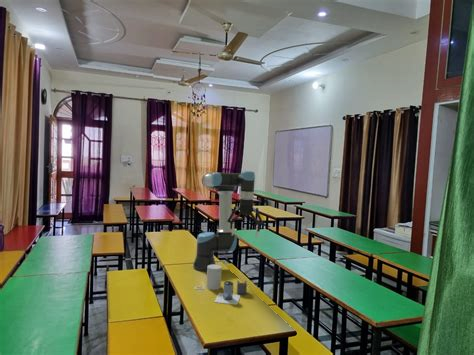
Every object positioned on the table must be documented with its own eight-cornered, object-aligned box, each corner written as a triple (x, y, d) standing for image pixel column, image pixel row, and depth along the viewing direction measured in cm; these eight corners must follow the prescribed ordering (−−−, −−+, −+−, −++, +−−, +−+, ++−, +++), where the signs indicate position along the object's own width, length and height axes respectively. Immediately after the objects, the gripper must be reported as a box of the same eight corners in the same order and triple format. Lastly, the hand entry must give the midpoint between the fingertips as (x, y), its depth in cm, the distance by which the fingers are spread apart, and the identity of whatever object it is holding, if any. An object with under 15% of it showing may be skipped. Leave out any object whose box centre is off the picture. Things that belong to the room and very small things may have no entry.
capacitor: (222, 299, 177) (223, 284, 177) (224, 296, 182) (224, 280, 182) (231, 300, 176) (232, 285, 176) (233, 297, 181) (234, 281, 181)
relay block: (236, 291, 191) (237, 280, 190) (245, 291, 191) (246, 280, 191) (237, 294, 186) (237, 283, 185) (246, 295, 186) (246, 283, 186)
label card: (195, 286, 194) (195, 286, 194) (204, 287, 193) (204, 287, 193) (194, 288, 191) (194, 288, 191) (203, 289, 190) (203, 289, 190)
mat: (218, 293, 186) (218, 292, 186) (240, 295, 184) (240, 295, 184) (214, 302, 174) (214, 301, 174) (237, 304, 172) (237, 304, 172)
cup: (218, 290, 190) (219, 269, 189) (204, 288, 191) (205, 268, 191) (222, 285, 198) (223, 265, 197) (208, 283, 199) (209, 263, 199)
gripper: (223, 197, 189) (221, 235, 190) (268, 201, 185) (266, 239, 186) (226, 196, 196) (224, 232, 197) (269, 199, 192) (267, 236, 193)
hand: (244, 236), depth 192 cm, fingers open, 13 cm apart
